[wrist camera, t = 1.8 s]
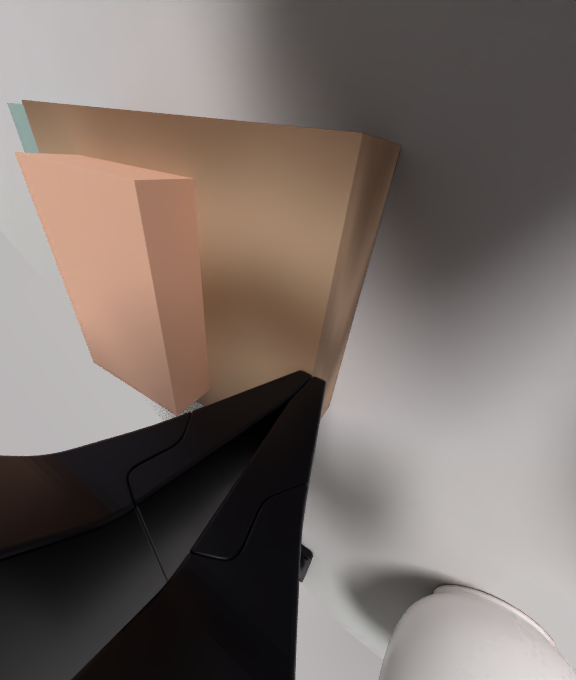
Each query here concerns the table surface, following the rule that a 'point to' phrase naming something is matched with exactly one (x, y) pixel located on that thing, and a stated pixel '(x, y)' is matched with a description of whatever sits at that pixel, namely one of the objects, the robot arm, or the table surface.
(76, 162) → the peach upright slab
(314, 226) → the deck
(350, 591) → the table surface
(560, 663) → the lidded jar
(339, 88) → the table surface
